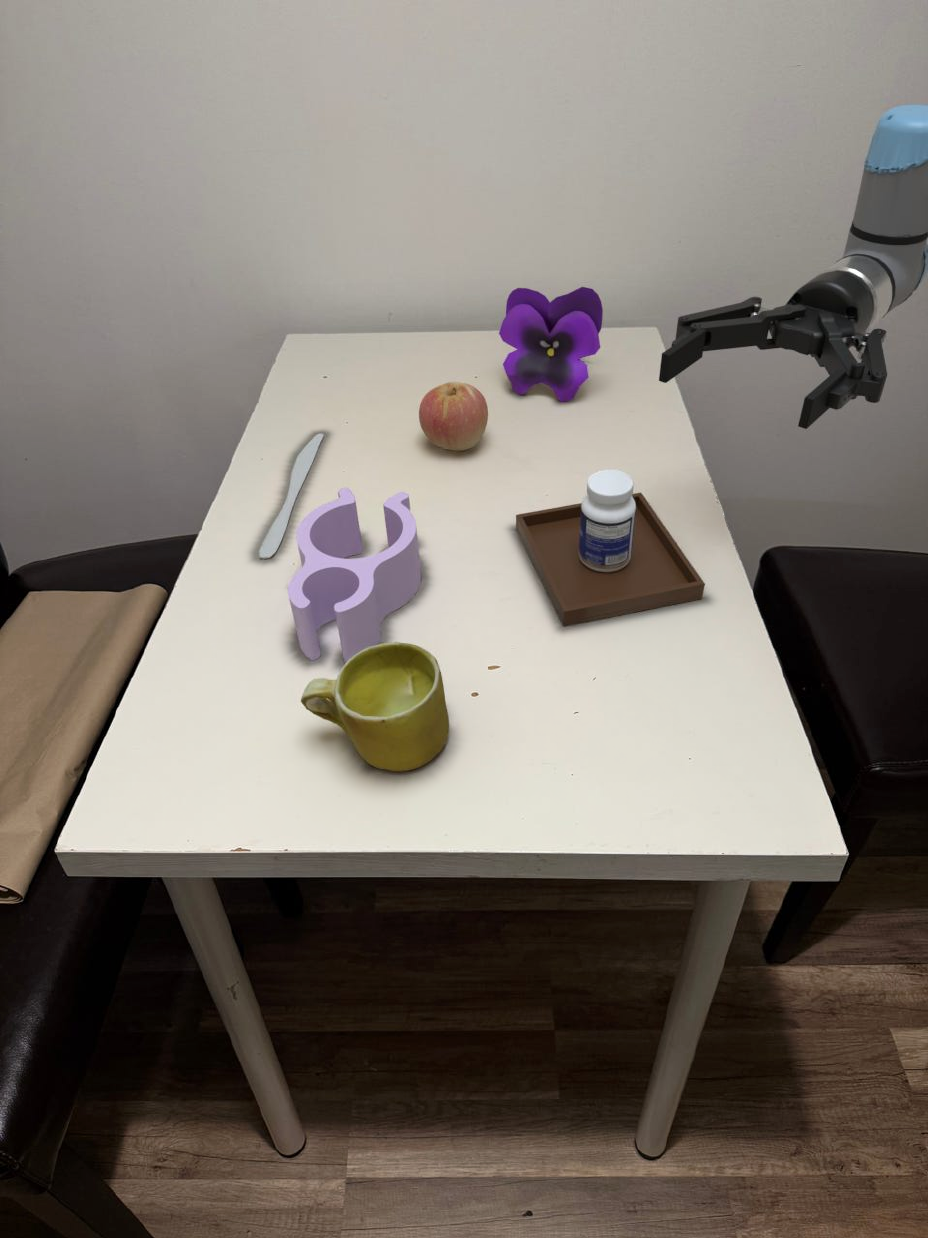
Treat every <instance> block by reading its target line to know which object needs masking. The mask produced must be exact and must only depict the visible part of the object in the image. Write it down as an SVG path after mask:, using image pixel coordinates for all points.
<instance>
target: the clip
mask: <svg viewBox="0 0 928 1238" xmlns="http://www.w3.org/2000/svg"><path fill="white" fill-rule="evenodd" d="M337 495H338V496H337V497H338V498H336V499H333V500H331V501H328V502H326V503H322V504H321V505H319V506H317V507H316V508H314V509H313V510H311V511H310V512H309V513H308V514H306V516H305V517H303V519H302V520H301V522H300V523H299V525H298V527H297V530H296V535H295V539H296V544H297V549H298V554H299V558H300V564H301V568H300V569H299V570H298V571H297V572H296V573H295V574H294V575H293V576H292V578H291V579H290V581H289V583H288V585H287V596H288V600H289V604H290V608H291V614H292V617H293V622H294V627H295V630H296V635H297V639H298V643H299V648H300V650H301V652H302V654H303V655H304V657H306V658H307V659H308V660H309V661H316V660H318V659H319V658H320V657H321V656H322V652H321V647H320V642H319V638H318V630H319V629H320V628H321V627H323V626H324V625H325V624H327V623H330V622H333V621H336V626H337V631H338V636H339V641H340V646H341V652H342V657H343V662H344V664H345V663H346V662H347V661H348V660H349V659H350V658H351V657H353V656H354V655H355V654H357V653H359V652H360V651H362V650H363V649H366V648H368V647H371V646H375V645H379V644H380V642H381V639H382V629H381V628H382V623H383V621H384V620H385V618H386V617H387V616H388V615H390V614H391V613H393V612H395V611H397V610H399V609H400V608H402V607H404V606H405V605H406V604H408V603H409V602H410V601H411V600H412V599H413V597H415V595H416V594H417V593H418V591H419V589H420V586H421V583H422V569H421V559H420V551H419V550H420V549H419V539H418V531H417V530H418V529H417V520H416V518H415V516H414V514H413V513H412V512H411V501H410V495H409V493H408V492H407V491H399V492H397V493H395V494H393V495H391V496H390V497H388V498H387V499H386V500H385V501H383V503H382V506H383V515H384V522H385V523H384V524H385V531H386V539H387V546H388V548H386V549H385V550H382V551H380V552H377V553H376V554H373V555H369V556H365V557H364V556H363V557H358V558H349V557H351V556H355V555H360V554H362V553H363V551H364V549H363V541H362V535H361V528H360V527H361V526H360V521H359V514H358V507H357V501H356V496H355V494H354V493H353V491H352V490H351V488H350V487H346V486H345V487H342V488H339V489H338V490H337Z"/></svg>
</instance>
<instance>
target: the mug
mask: <svg viewBox="0 0 928 1238" xmlns="http://www.w3.org/2000/svg"><path fill="white" fill-rule="evenodd" d="M438 662H439V661H438V659H437V658H436V657H435V656H434V655H433V654H432V653H431V652H430V651H428V650H427V649H425V648H423V647H421V646H419V645H416V644H414V643H409V642H401V641H391V642H390V641H389V642H384V643H379V644H378V645H375V646H371V647H368V648H366V649H363V650H362V651H360V652H359V653H357V654H355V655H354V656H353V657H351V658H350V659H349V660H348V661H347V662H346V663H345V662H344V665H343V666H342V667H341V669H340V671H339V673H338V674H337V678H335V679H330V678H325V677H320V678H319V677H318V678H314V679H312V680H311V681H309V682H308V684H307V685H306V687H305V688H304V691H303V692H302V695H301V698H300V703H301V704H302V705H303V706H304V708H305V709H306V710H307V711H309V712H311V713H312V714H313V715H315V716H317V717H319V718H321V719H322V720H325V721H329V722H330V723H333V724H335V725H337V726H338V727H340V728H341V729H342V731H343V732H344V733H345V734H346V735H347V736H348V737H347V738H349V739H350V740H351V741H352V743H353V745H354V748H355V750H356V751H357V752H358V754H359V755H360V756H361V758H362V759H363V760H364V761H365V763H367V764H369V765H371V766H372V767H374V768H377V769H380V770H387V771H388V770H389V771H391V772H392V771H393V772H406V771H411V770H416V769H418V768H420V767H423V766H425V765H427V764H428V763H429V762H430V761H433V759H434V758H435V757H436V756H437V755H439V753H440V752H441V751H442V750H443V749H444V747H445V745H446V743H447V741H448V738H449V734H450V718H449V712H448V707H447V701H446V695H445V686H444V681H443V675H442V671H441V668H440V665H439V663H438Z"/></svg>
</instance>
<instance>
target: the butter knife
mask: <svg viewBox="0 0 928 1238" xmlns="http://www.w3.org/2000/svg"><path fill="white" fill-rule="evenodd" d="M324 436H325V435H324V433H317V434H315V435H314V437H312V438H311V440H310V441H309V442H308V443H307V444H306V445H305V446H304V448H303V449H302V450H301V451H300V452H299V454H298V455H297V457H296V460H295V462H294V465H293V468H292V470H291V473H290V481H289V488H288V491H287V495H286V499H285V501H284V503H283V505H282V507H281V510H280V511H279V514H278V515H277V517H276V518H275V520H274V522H273V523H272V525H271V526H270V527H269V530H268V532H267V534H266V536H265V537H264V540H263V542H262V544H261V545H260V548H259V550H258V557H259V558H260V559H270V558H271V557H272V556H273V555H274V554H275V553H276V552H277V550H278V549H279V546H280V544H281V542H282V540H283V537H284V535H285V532H286V530H287V526H288V523H289V519H290V516H291V513H292V510H293V507H294V504H295V502H296V499H297V496H298V495H299V492H300V490H301V488H302V486H303V484H304V482H305V479H306V477H307V475H308V473H309V471H310V469H311V467H312V465H313V461H314V460H315V457H316V456H317V455H316V454H317V452H318V449H319V446H320V444H321V443H322V440H323V438H324Z"/></svg>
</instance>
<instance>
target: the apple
mask: <svg viewBox="0 0 928 1238" xmlns="http://www.w3.org/2000/svg"><path fill="white" fill-rule="evenodd" d="M421 399H422V400H420V401H421V402H420V405H419V408H418V421H419V425H420V428H421V430H422V433H423V435H424V436H425V437H426V438H427V439H428V440H429V442H431V443H432V444H433V445H435V446H437V447H439V448H441V449H445V450H449V451H467V450H469V449H471V448H473V447H474V446H476V445H477V443H478V442H479V441H480V440H481V438H482V437H483V436H484V434H485V432H486V429H487V425H488V419H489V407H488V404H487V400H486V398H485V396H484V395H483V393H482V392H481V391H480V390H479V389H478V388H476V387H475V386H474V385H471V384H469V383H466V382H459V381H449V382H446V383H443V384H440V385H437V386H436V387H434V388H432V389H430V390H429V391H428V392H427V393H426V394H425V395H424V396H423V398H421Z"/></svg>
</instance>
